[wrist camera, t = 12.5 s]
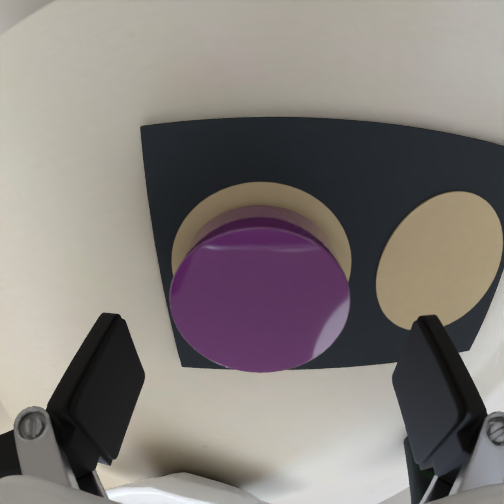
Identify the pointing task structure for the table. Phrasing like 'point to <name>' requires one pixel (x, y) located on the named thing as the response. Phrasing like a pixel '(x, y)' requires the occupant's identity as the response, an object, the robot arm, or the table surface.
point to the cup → (417, 476)
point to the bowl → (180, 491)
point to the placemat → (345, 216)
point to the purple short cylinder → (260, 290)
